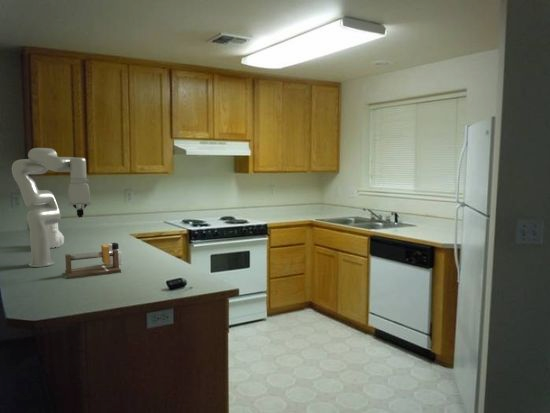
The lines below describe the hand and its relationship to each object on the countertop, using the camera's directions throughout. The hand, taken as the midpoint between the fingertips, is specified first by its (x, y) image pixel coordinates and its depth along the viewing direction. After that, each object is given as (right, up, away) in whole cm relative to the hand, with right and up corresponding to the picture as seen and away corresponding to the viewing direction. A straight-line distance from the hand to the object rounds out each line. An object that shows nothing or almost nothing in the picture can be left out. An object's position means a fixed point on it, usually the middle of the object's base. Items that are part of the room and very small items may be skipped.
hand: (80, 216), depth 238 cm
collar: (+12, -24, +4) cm, 27 cm away
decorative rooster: (-49, -23, +71) cm, 89 cm away
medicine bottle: (+10, -27, +20) cm, 35 cm away
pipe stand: (+6, -29, +1) cm, 30 cm away
